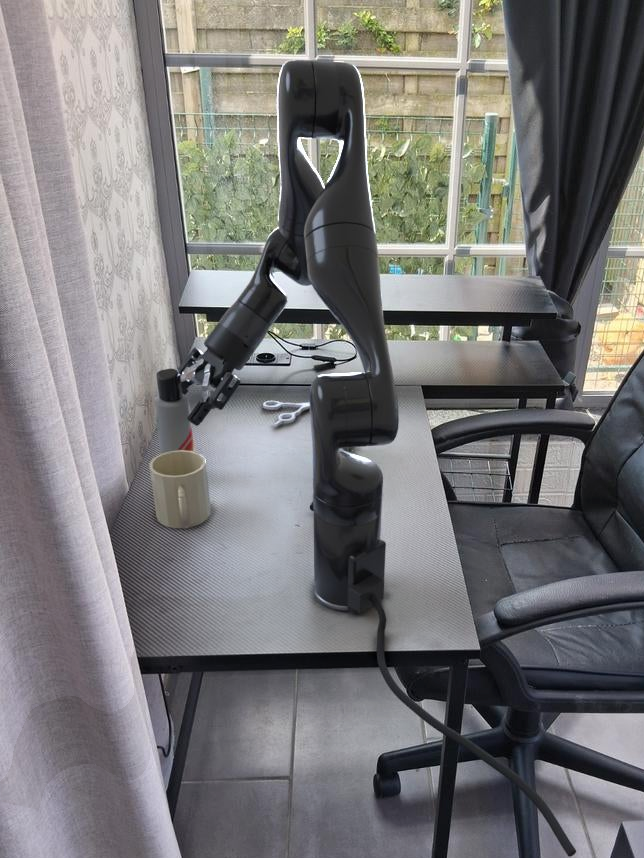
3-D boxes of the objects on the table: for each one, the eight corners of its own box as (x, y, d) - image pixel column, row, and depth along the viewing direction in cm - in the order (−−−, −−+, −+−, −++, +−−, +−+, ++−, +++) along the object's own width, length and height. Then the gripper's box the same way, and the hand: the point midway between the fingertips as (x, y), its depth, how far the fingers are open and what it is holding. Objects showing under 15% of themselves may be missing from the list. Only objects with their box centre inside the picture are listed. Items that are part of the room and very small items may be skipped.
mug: (155, 503, 132) (148, 453, 127) (208, 497, 135) (203, 447, 129) (158, 543, 123) (151, 490, 118) (214, 536, 125) (209, 484, 120)
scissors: (254, 403, 164) (340, 385, 173) (254, 407, 165) (340, 389, 173) (275, 424, 157) (363, 404, 165) (275, 427, 157) (363, 408, 166)
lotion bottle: (203, 478, 140) (193, 372, 129) (176, 490, 136) (163, 381, 125) (184, 466, 143) (172, 362, 132) (157, 477, 139) (142, 371, 129)
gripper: (202, 310, 135) (147, 387, 136) (243, 336, 126) (183, 418, 126) (232, 334, 141) (179, 408, 141) (273, 361, 132) (216, 440, 132)
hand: (181, 413), depth 134 cm, fingers open, 8 cm apart
